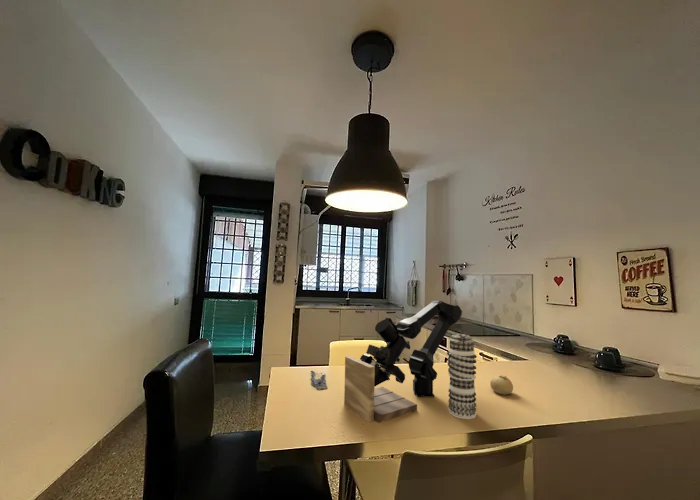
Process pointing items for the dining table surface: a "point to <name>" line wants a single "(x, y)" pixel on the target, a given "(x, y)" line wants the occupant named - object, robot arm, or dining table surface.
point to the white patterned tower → (462, 376)
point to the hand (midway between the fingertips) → (367, 388)
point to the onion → (501, 385)
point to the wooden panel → (390, 405)
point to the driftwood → (318, 381)
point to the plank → (359, 387)
